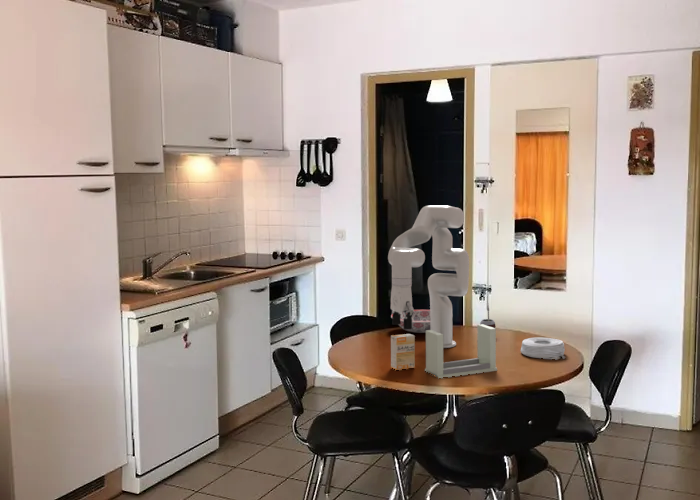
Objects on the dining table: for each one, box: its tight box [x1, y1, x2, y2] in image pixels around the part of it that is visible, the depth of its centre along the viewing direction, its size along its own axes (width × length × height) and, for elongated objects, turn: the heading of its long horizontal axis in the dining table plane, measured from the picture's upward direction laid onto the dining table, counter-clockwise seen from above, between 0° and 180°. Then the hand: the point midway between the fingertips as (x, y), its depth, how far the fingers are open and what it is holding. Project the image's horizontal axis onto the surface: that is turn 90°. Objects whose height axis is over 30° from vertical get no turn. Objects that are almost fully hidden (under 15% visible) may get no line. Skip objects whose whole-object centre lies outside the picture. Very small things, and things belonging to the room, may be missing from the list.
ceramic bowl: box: [390, 309, 454, 334], centre depth 344 cm, size 29×29×8 cm
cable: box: [520, 337, 566, 361], centre depth 297 cm, size 18×18×6 cm
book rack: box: [424, 323, 498, 379], centre depth 274 cm, size 11×25×16 cm, turn 112°
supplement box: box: [390, 333, 416, 371], centre depth 279 cm, size 8×5×13 cm, turn 114°
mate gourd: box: [479, 302, 497, 328], centre depth 330 cm, size 8×8×15 cm
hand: (402, 326), depth 278 cm, fingers open, 9 cm apart
